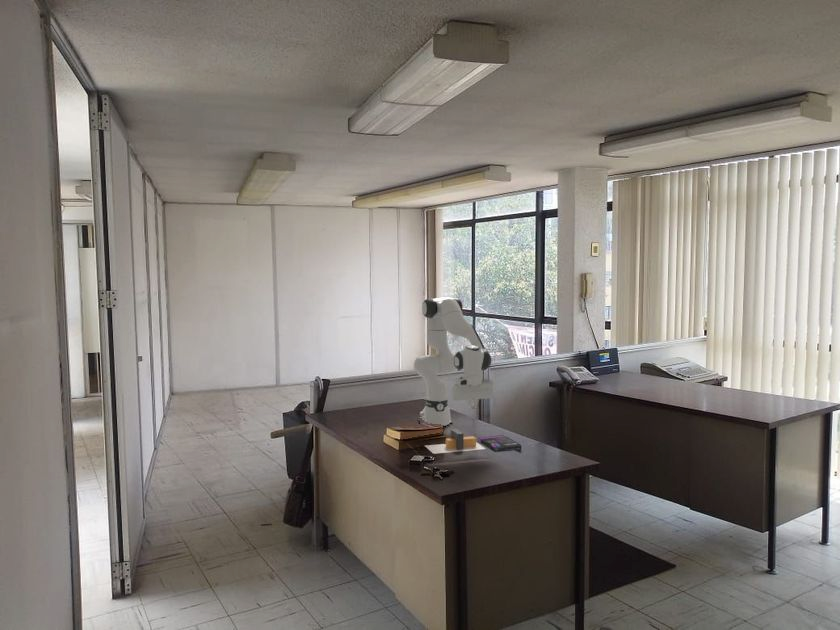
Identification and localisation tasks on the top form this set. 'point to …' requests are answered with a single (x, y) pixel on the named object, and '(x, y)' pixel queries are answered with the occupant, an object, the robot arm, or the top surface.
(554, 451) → the top surface
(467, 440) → the orange foam brick
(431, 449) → the base plate
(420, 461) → the top surface
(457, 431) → the dark grey block
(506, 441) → the box
